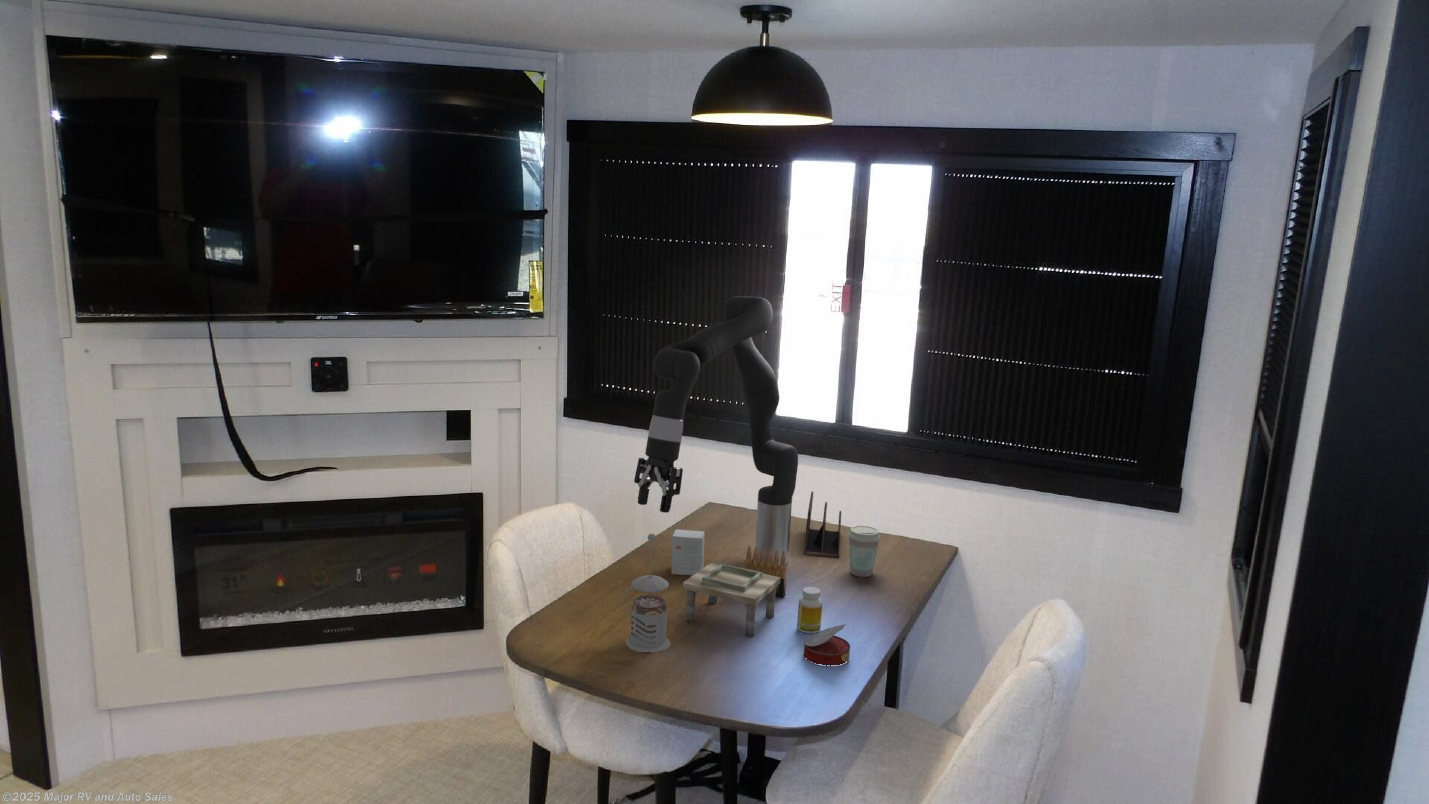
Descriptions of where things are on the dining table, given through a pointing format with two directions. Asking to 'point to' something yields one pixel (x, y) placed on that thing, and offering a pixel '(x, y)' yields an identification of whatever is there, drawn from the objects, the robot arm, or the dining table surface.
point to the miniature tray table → (732, 590)
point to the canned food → (827, 647)
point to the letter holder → (822, 537)
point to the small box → (687, 552)
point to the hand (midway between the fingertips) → (652, 508)
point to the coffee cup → (863, 549)
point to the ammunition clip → (769, 567)
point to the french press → (651, 635)
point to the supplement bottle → (809, 611)
